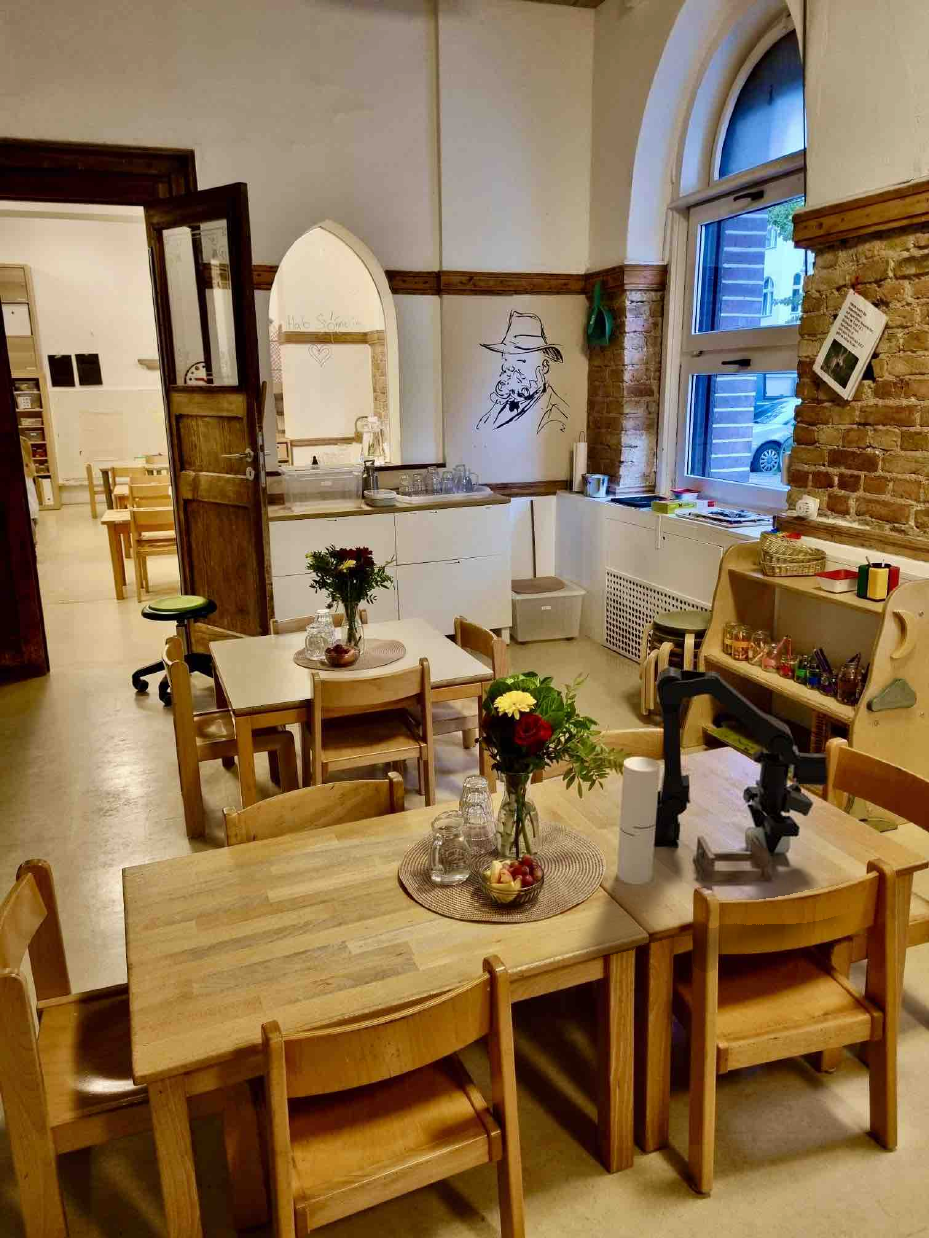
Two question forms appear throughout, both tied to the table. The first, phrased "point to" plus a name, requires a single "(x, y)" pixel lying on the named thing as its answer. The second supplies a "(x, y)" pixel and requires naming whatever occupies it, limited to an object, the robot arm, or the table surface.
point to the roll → (757, 831)
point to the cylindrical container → (638, 819)
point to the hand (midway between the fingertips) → (766, 846)
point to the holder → (733, 863)
